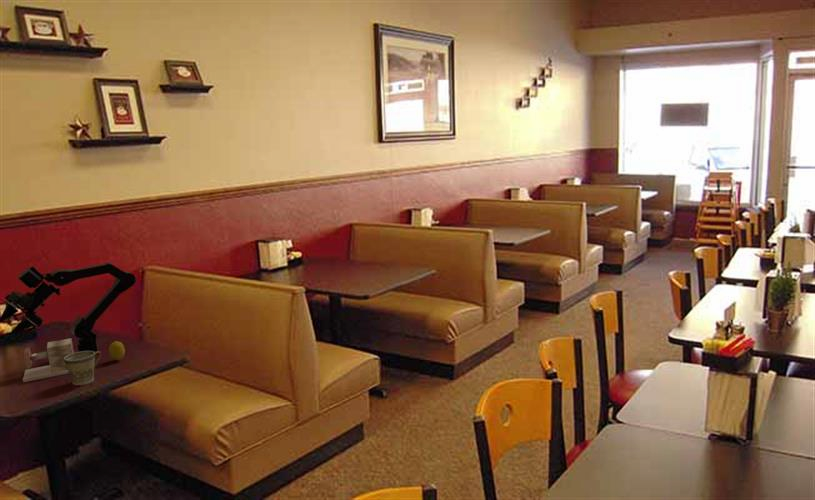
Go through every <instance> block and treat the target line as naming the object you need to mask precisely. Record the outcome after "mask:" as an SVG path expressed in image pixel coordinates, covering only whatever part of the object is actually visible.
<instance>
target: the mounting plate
mask: <svg viewBox="0 0 815 500" xmlns="http://www.w3.org/2000/svg"><path fill="white" fill-rule="evenodd" d="M67 374H69V372H68V370H62V371H57V372H51V369H50V364H49V365H43V366H38V367H33V368H32V367H31V368H26V369H25V370H24V374H23V378H22V382H23V383H27V382H31V381H36V380H43V379H48V378H52V377H56V376H62V375H67Z"/></svg>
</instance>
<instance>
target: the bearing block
mask: <svg viewBox="0 0 815 500" xmlns="http://www.w3.org/2000/svg"><path fill="white" fill-rule="evenodd" d="M46 351H47V352H48V361H49V362H48V363H49V365H50V369H51V372H57V371H62V370H67V368H66V365H65V362H64V357H65V356H67V355H69V354H72V353H75V351H74V345H73V340H72V337H71V338H70V337H69V338H66V339H61V340H53V341H48V342H47V345H46Z"/></svg>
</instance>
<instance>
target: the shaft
mask: <svg viewBox="0 0 815 500" xmlns="http://www.w3.org/2000/svg"><path fill="white" fill-rule="evenodd" d="M23 357H24V362H25V368H26V369H32V366H33V361H37V360H42V359H47V358H48V352H47V350H46V351H41V352H36V353H31V348H30V347H25V348H24V351H23ZM48 359H49V358H48Z"/></svg>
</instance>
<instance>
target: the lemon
mask: <svg viewBox="0 0 815 500" xmlns="http://www.w3.org/2000/svg"><path fill="white" fill-rule="evenodd" d="M125 352H126V349H125V346H124V344H123V343H122V342H121V341H118V340H115V341H113V342H112V343H111V344H109V349H108V353H109V356H110V357H111V359H112V360H116V361H117V362H119V361H120V360H121V359H123V358H124V356H125Z"/></svg>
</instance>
